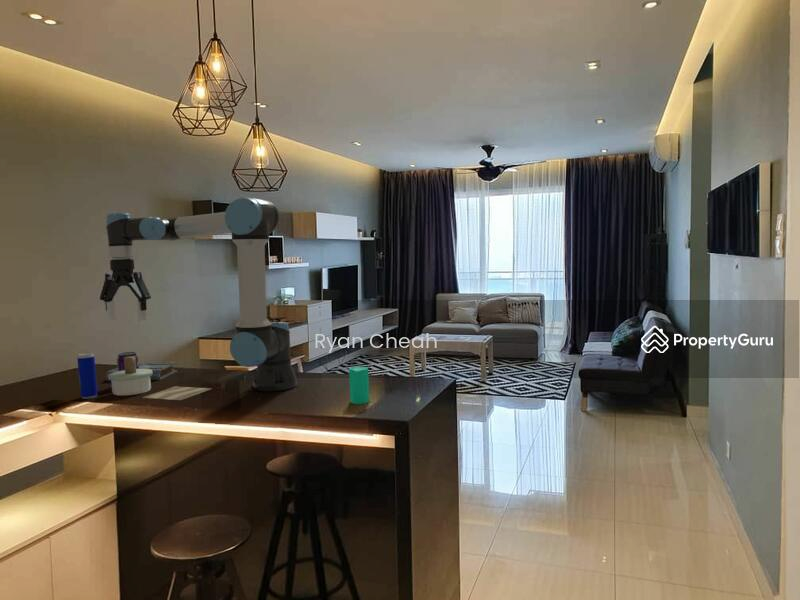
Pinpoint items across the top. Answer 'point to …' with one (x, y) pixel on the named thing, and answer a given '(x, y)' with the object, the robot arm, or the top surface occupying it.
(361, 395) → the candle
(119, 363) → the beverage can
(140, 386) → the bowl
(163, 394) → the trivet
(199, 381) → the top surface
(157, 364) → the book
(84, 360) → the beverage can
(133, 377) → the lid
